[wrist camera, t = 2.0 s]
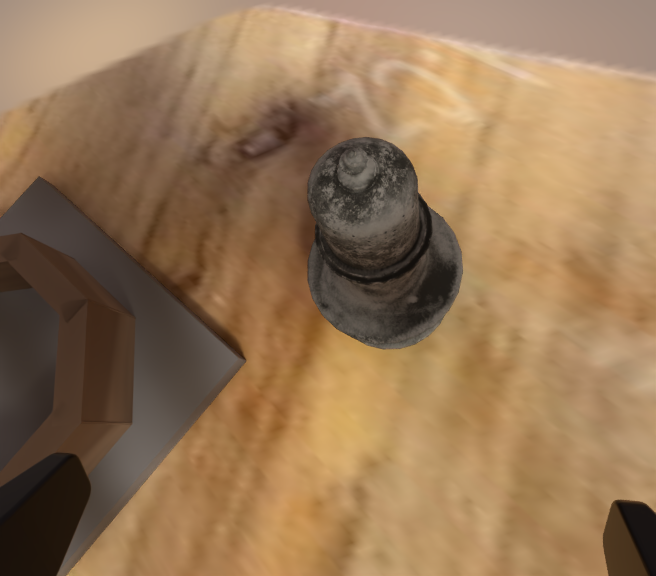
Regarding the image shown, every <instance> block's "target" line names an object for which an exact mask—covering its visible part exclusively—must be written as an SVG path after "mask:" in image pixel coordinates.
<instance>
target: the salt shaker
mask: <svg viewBox="0 0 656 576" xmlns="http://www.w3.org/2000/svg"><path fill="white" fill-rule="evenodd" d="M308 203H309V207H310V210H311V213H312V215H313V217H314V219H315V221H316V225H315V240H314V242H313V244H312V248H311V251H310V255H309V259H308V283H309V287H310V291H311V295H312V298H313V300H314V302H315V304H316V305H317V307H318V309H319V310H320V312H321V314H322V315H323V316H324V317H325V318H326V319H327V320H328V321H329V322H330V323H331V324H332V325H333V326H334V327H335V328H336V329H338V330H339V331H341V332H343V333H345V334H347V335H349V336H351V337H352V338H354V339H357V340H358V341H360V342H362V343H364V344H366V345H368V346H372V347H376V348H380V349H401V348H404V347H407V346H411V345H414V344H416V343H418V342H420V341H421V340H423V339H424V338H426V337H428V336H429V335H430V334H431V333H432V332H433V331H434V330H435V329H436V328H437V327H438V326H439V325H440V323H441V321H442V319H443V317H444V315H445V314H446V313H447V312H448V311H449V309H450V307H451V306H452V304H453V302H454V300H455V298H456V296H457V294H458V292H459V288H460V283H461V278H462V274H463V266H462V253H461V249H460V247H459V244H458V241H457V239H456V236H455V233H454V232H453V231H452V229H451V228H450V227H449V225H448V224H447V223H446V221H445V220H444V218H443V217H441V216H440V215H439V214H438V213H436V212H435V211H434V210H433V209H431V208H430V207H429V206H427V203H426V202H425V201H424V199H423V198H422V197H421V195H420V194H419V193H418V180H417V176H416V173H415V170H414V167H413V165H412V163H411V162H410V160H409V159H408V158H407V156H406V155H405V154H404V152H403V151H402V150H400V149H399V148H398V147H396V146H395V145H393V144H392V143H389V142H387V141H384V140H382V139H377V138H369V137H363V138H354V139H350V140H347V141H344V142H341V143H339V144H337V145H336V146H334V147H332V148H331V149H329V150H328V151H327V152H326V153H325V154H324V155H323V156H321V157H320V158H319V159H318V161H317V163H316V164H315V166H314V167H313V169H312V171H311V174H310V177H309V180H308Z"/></svg>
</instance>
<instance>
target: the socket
mask: <svg viewBox="0 0 656 576" xmlns="http://www.w3.org/2000/svg"><path fill="white" fill-rule="evenodd" d="M245 362H246V360H245V359H244V358H243V357H241V356H240V355H239V354H238V353H237V352H236V351H235V350H234V349H233V348H232V347H230V346H229V345H228V344H227V343H226V342H225V341H224V340H223V339H222V338H221V337H219V336H218V335H217V334H216V333H215V332H214V331H213V330H212V329H211V328H209V327H208V326H207V325H206V324H205V323H204V322H203V321H202V320H201V319H200V318H198V317H197V316H196V315H195V314H194V313H193V312H192V311H191V310H190V309H189V308H187V307H186V306H185V305H184V304H183V303H182V302H181V301H180V300H179V299H178V298H176V297H175V296H174V295H173V294H172V293H171V292H170V291H169V290H168V289H167V288H165V287H164V286H163V285H162V284H161V283H160V282H159V281H158V280H157V279H156V278H154V277H153V276H152V275H151V274H150V273H149V272H148V271H147V270H146V269H145V268H143V267H142V266H141V265H140V264H139V263H138V262H137V261H136V260H135V259H134V258H132V257H131V256H130V255H129V254H128V253H127V252H126V251H125V250H124V249H123V248H121V247H120V246H119V245H118V244H117V243H116V242H115V241H114V240H113V239H111V238H110V237H109V236H108V235H107V234H106V233H105V232H104V231H103V230H102V229H100V228H99V227H98V226H97V225H96V224H95V223H94V222H93V221H92V220H91V219H89V218H88V217H87V216H86V215H85V214H84V213H83V212H82V211H81V210H80V209H78V208H77V207H76V206H75V205H74V204H73V203H72V202H71V201H70V200H69V199H67V198H66V197H65V196H64V195H63V194H62V193H61V192H60V191H59V190H58V189H56V188H55V187H54V186H53V185H52V184H50V183H49V182H47V181H46V180H44V179H43V178H41V177H40V176H39V177H38V178H37V179H36V180H35V181H34V182H33V183H32V184H31V186H30V187H29V188H28V189H27V190H26V191H25V192H24V193H23V194H22V195H21V196H20V197H19V199H18V200H17V201H16V202H15V203H14V204H13V205H12V206H11V207H10V208H9V209H8V210H7V212H6V213H5V214H4V215H3V216H2V217H1V218H0V487H1V486H2V485H4V484H5V483H7V482H9V481H10V480H12V479H13V478H15V477H16V476H18V475H19V474H21V473H22V472H24V471H25V470H27V469H29V468H30V467H32V466H33V465H35V464H36V463H38V462H39V461H41V460H42V459H44V458H45V457H47V456H49V455H50V454H53V453H57V452H61V453H73V454H76V455H77V456H78V457H79V458H80V460H81V462H82V465H83V467H84V469H85V471H86V473H87V475H88V478H89V480H90V482H91V494H90V498H89V500H88V503H87V505H86V508H85V510H84V512H83V515H82V517H81V520H80V522H79V524H78V527H77V529H76V532H75V534H74V536H73V539H72V541H71V544H70V546H69V549H68V551H67V553H66V556H65V558H64V561H63V563H62V565H61V568H60V570H59V572H58V574H57V576H66V575H67V574H68V572H69V571H70V570H71V569H72V568H73V567H74V565H75V564H76V563H77V562H78V561H79V559H80V558H81V557H82V556H83V555H84V553H85V552H86V551H87V550H88V549H89V548H90V546H91V545H92V544H93V543H94V542H95V540H96V539H97V538H98V537H99V536H100V534H101V533H102V532H103V531H104V530H105V528H106V527H107V526H108V525H109V524H110V523H111V521H112V520H113V519H114V518H115V517H116V515H117V514H118V513H119V512H120V511H121V509H122V508H123V507H124V506H125V505H126V504H127V502H128V501H129V500H130V499H131V498H132V496H133V495H134V494H135V493H136V492H137V490H138V489H139V488H140V487H141V486H142V485H143V483H144V482H145V481H146V480H147V479H148V477H149V476H150V475H151V474H152V473H153V471H154V470H155V469H156V468H157V467H158V465H159V464H160V463H161V462H162V461H163V460H164V458H165V457H166V456H167V455H168V454H169V452H170V451H171V450H172V449H173V448H174V446H175V445H176V444H177V443H178V442H179V441H180V439H181V438H182V437H183V436H184V435H185V433H186V432H187V431H188V430H189V429H190V427H191V426H192V425H193V424H194V423H195V422H196V420H197V419H198V418H199V417H200V416H201V414H202V413H203V412H204V411H205V410H206V408H207V407H208V406H209V405H210V404H211V402H212V401H213V400H214V399H215V398H216V397H217V395H218V394H219V393H220V392H221V391H222V389H223V388H224V387H225V386H226V385H227V383H228V382H229V381H230V380H231V379H232V378H233V376H234V375H235V374H236V373H237V372H238V370H239V369H240V368H241V367H242V366H243V364H244V363H245Z"/></svg>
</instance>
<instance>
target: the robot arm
mask: <svg viewBox="0 0 656 576" xmlns="http://www.w3.org/2000/svg"><path fill="white" fill-rule="evenodd" d="M90 494H91V482H90V480H89V478H88V475H87V473H86V471H85V469H84V467H83V465H82V462H81V460H80V458H79V457H78V456H77V455H76V454H73V453H61V452H57V453H53V454H50V455H49V456H47V457H45V458H44V459H42V460H41V461H39V462H38V463H36V464H35V465H33V466H32V467H30V468H29V469H27V470H25V471H24V472H22V473H21V474H19V475H18V476H16V477H15V478H13V479H12V480H10V481H9V482H7V483H5V484H4V485H2V486H1V487H0V576H57V574H58V572H59V570H60V568H61V565H62V563H63V561H64V558H65V556H66V553H67V551H68V549H69V546H70V544H71V541H72V539H73V536H74V534H75V532H76V529H77V527H78V524H79V522H80V520H81V517H82V515H83V512H84V510H85V508H86V505H87V503H88V500H89V498H90ZM603 548H604V554H605V559H606V564H607V570H608V575H609V576H656V513H655V512H654V511H653V510H652V509H651V508H650V507H649V506H648V505H647V504H645V503H643V502H640V501H629V500H615V501H614V502H613V503H612V505H611V508H610V512H609V515H608V519H607V522H606V526H605V529H604V533H603Z"/></svg>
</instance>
